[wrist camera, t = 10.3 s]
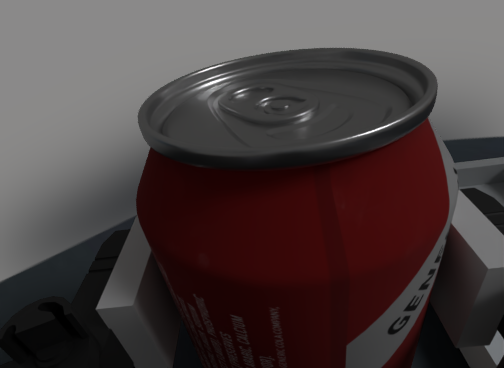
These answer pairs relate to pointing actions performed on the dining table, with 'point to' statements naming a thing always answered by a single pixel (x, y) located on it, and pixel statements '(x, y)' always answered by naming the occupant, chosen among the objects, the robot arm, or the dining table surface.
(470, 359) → the channel
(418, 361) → the dining table surface
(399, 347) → the soda can
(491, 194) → the tray
